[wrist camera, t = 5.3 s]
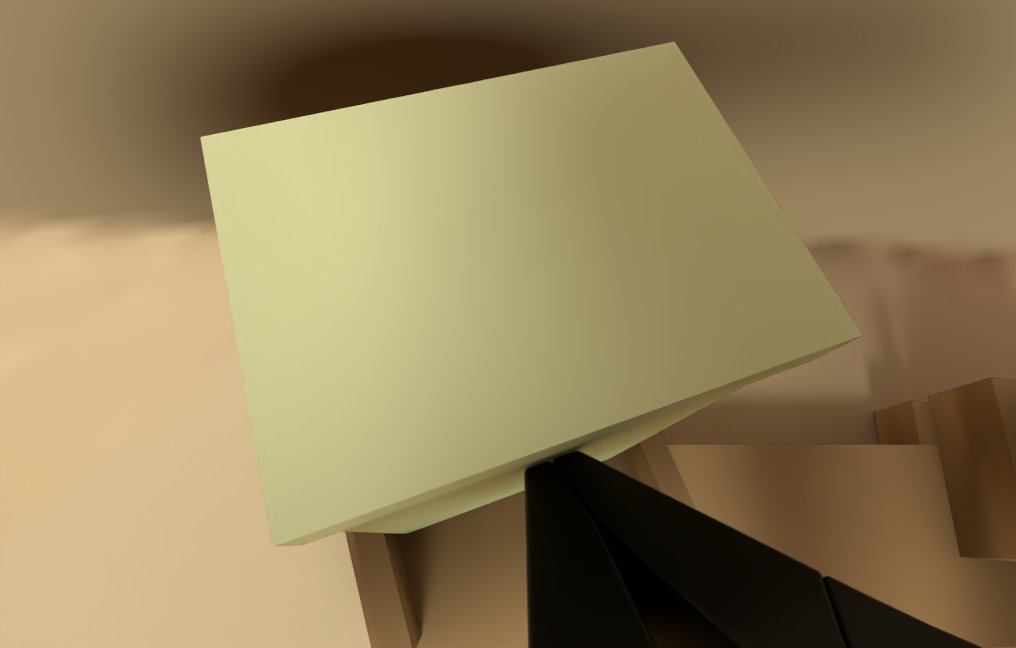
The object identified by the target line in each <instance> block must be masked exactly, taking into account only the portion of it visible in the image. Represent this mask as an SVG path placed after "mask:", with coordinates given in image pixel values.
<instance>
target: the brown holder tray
mask: <svg viewBox="0 0 1016 648" xmlns="http://www.w3.org/2000/svg"><path fill="white" fill-rule="evenodd" d="M928 398H929V403H926V402H919V401H912V400H911V401H908V402H905V403H902V404H898V405H895V406H892V407H888V408H885V409H882V410H879V411H875V418H876V424H877V430H878V437H879V443H880V445H667V444H666V442H665V440H664V438H663V436H662V434H661V431H660V432H658V433H656V434H654V435H652V436H650V437H649V438H647V439H645V440H643V441H641V442H639V443H637V444H636V445H634V446H632V447H630V448H628V449H626V450H624V451H623V452H621V453H619V454H617V455H615V456H613V457H612V458H610V459H607V460H604V461H602V462H603V463H605V464H607V465H609V466H611V467H613V468H615V469H617V470H619V471H621V472H623V473H625V474H627V475H629V476H631V477H633V478H635V479H637V480H639V481H641V482H643V483H645V484H647V485H649V486H651V487H653V488H655V489H657V490H659V491H661V492H663V493H665V494H667V495H669V496H671V497H673V498H675V499H677V500H679V501H681V502H683V503H685V504H687V505H689V506H691V507H693V508H695V509H697V510H699V511H701V512H703V513H705V514H707V515H709V516H711V517H713V518H715V519H717V520H719V521H721V522H723V523H725V524H727V525H729V526H731V527H733V528H735V529H737V530H739V531H741V532H743V533H745V534H747V535H749V536H751V537H753V538H754V539H756V540H758V541H760V542H762V543H764V544H766V545H768V546H770V547H772V548H774V549H776V550H778V551H780V552H782V553H784V554H786V555H788V556H790V557H792V558H794V559H796V560H798V561H800V562H802V563H804V564H806V565H808V566H810V567H812V568H814V569H816V570H818V571H820V573H821V574H822V576H823V577H824V576H826V575H828V576H831V577H833V578H835V579H837V580H839V581H841V582H843V583H845V584H847V585H849V586H851V587H853V588H855V589H857V590H859V591H861V592H863V593H865V594H867V595H869V596H871V597H873V598H875V599H877V600H879V601H881V602H884V603H886V604H888V605H890V606H892V607H894V608H896V609H898V610H900V611H902V612H904V613H907V614H909V615H911V616H913V617H915V618H917V619H919V620H921V621H923V622H925V623H928V624H930V625H932V626H934V627H937V628H939V629H941V630H944V631H946V632H948V633H950V634H953V635H955V636H957V637H960V638H962V639H964V640H967V641H969V642H971V643H973V644H976V645H978V646H980V647H983V648H1016V387H1015V384H1014V381H1012V380H1006V379H999V378H992V377H991V378H988V379H985V380H981V381H978V382H975V383H971V384H968V385H965V386H961V387H958V388H955V389H952V390H948V391H945V392H942V393H938V394H935V395H932V396H928ZM345 533H346V537H347V542H348V546H349V551H350V555H351V560H352V564H353V568H354V573H355V577H356V582H357V586H358V591H359V595H360V600H361V604H362V608H363V613H364V617H365V622H366V626H367V631H368V635H369V640H370V644H371V648H528V629H527V583H526V537H525V491H521V492H518V493H516V494H513V495H510V496H508V497H505V498H502V499H500V500H497V501H494V502H491V503H489V504H486V505H483V506H481V507H478V508H475V509H473V510H470V511H467V512H465V513H462V514H459V515H457V516H454V517H451V518H448V519H446V520H443V521H440V522H438V523H435V524H432V525H430V526H427V527H424V528H422V529H419V530H416V531H414V532H411V533H408V534H398V533H372V532H346V531H345Z"/></svg>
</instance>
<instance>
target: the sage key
mask: <svg viewBox="0 0 1016 648" xmlns="http://www.w3.org/2000/svg"><path fill="white" fill-rule="evenodd" d="M201 144H202V149H203V154H204V160H205V166H206V172H207V177H208V183H209V189H210V195H211V200H212V206H213V212H214V217H215V223H216V229H217V234H218V240H219V246H220V251H221V257H222V263H223V269H224V274H225V280H226V286H227V291H228V297H229V303H230V308H231V314H232V320H233V325H234V331H235V337H236V342H237V348H238V354H239V359H240V365H241V371H242V377H243V382H244V388H245V394H246V399H247V405H248V411H249V416H250V422H251V428H252V433H253V439H254V445H255V450H256V456H257V462H258V467H259V473H260V479H261V485H262V490H263V496H264V502H265V507H266V513H267V519H268V524H269V530H270V536H271V541H272V547H279V546H297V545H305V544H307V543H310V542H313V541H316V540H319V539H321V538H324V537H327V536H330V535H332V534H335V533H338V532H341V531H346V532H372V533H398V534H408V533H411V532H414V531H416V530H419V529H422V528H424V527H427V526H430V525H432V524H435V523H438V522H440V521H443V520H446V519H448V518H451V517H454V516H457V515H459V514H462V513H465V512H467V511H470V510H473V509H475V508H478V507H481V506H483V505H486V504H489V503H491V502H494V501H497V500H500V499H502V498H505V497H508V496H510V495H513V494H516V493H518V492H521V491H524V472H525V470H526V469H528V468H530V467H533V466H536V465H538V464H541V463H544V462H547V461H549V462H553V460H554V459H555V458H558V457H560V456H563V455H566V454H569V453H571V452H574V451H581V452H583V453H585V454H587V455H589V456H591V457H593V458H595V459H597V460H599V461H601V462H602V461H604V460H607V459H610V458H612V457H613V456H615V455H617V454H619V453H621V452H623V451H624V450H626V449H628V448H630V447H632V446H634V445H636V444H637V443H639V442H641V441H643V440H645V439H647V438H649V437H650V436H652V435H654V434H656V433H658V432H660V431H661V430H663V429H665V428H667V427H669V426H671V425H673V424H674V423H676V422H678V421H680V420H682V419H684V418H686V417H687V416H689V415H691V414H693V413H695V412H697V411H698V410H700V409H702V408H704V407H706V406H708V405H710V404H711V403H713V402H715V401H717V400H719V399H721V398H723V397H724V396H726V395H728V394H730V393H732V392H734V391H736V390H737V389H739V388H741V387H743V386H745V385H747V384H749V383H752V382H755V381H758V380H760V379H763V378H766V377H769V376H771V375H774V374H777V373H780V372H782V371H785V370H788V369H791V368H793V367H796V366H799V365H802V364H804V363H807V362H810V361H813V360H815V359H817V358H819V357H821V356H823V355H825V354H827V353H829V352H831V351H833V350H835V349H836V348H838V347H840V346H842V345H844V344H846V343H848V342H850V341H852V340H854V339H856V338H858V337H860V336H862V335H863V334H862V332H861V331H860V329H859V328H858V326H857V325H856V323H855V321H854V320H853V318H852V317H851V315H850V314H849V312H848V311H847V309H846V307H845V306H844V304H843V303H842V301H841V300H840V298H839V297H838V295H837V294H836V292H835V290H834V289H833V287H832V286H831V284H830V283H829V281H828V280H827V278H826V276H825V275H824V273H823V272H822V270H821V269H820V267H819V266H818V264H817V262H816V261H815V259H814V258H813V256H812V255H811V253H810V252H809V250H808V248H807V247H806V245H805V244H804V242H803V241H802V239H801V238H800V236H799V234H798V233H797V231H796V230H795V228H794V227H793V225H792V224H791V222H790V220H789V219H788V217H787V216H786V214H785V213H784V211H783V210H782V208H781V206H780V205H779V203H778V202H777V200H776V199H775V197H774V196H773V194H772V192H771V191H770V189H769V188H768V186H767V185H766V183H765V182H764V180H763V179H762V177H761V175H760V174H759V172H758V171H757V169H756V168H755V166H754V165H753V163H752V161H751V160H750V159H749V157H748V155H747V154H746V152H745V151H744V149H743V147H742V146H741V144H740V143H739V141H738V140H737V138H736V137H735V135H734V133H733V132H732V130H731V129H730V127H729V126H728V124H727V123H726V121H725V120H724V118H723V116H722V115H721V114H720V112H719V110H718V109H717V107H716V105H715V104H714V102H713V101H712V99H711V98H710V96H709V95H708V93H707V92H706V90H705V89H704V87H703V85H702V84H701V82H700V81H699V79H698V78H697V76H696V74H695V73H694V71H693V70H692V68H691V67H690V65H689V63H688V62H687V60H686V59H685V57H684V56H683V54H682V53H681V51H680V49H679V48H678V46H677V45H676V43H675V42H671V43H666V44H661V45H656V46H651V47H646V48H641V49H636V50H631V51H626V52H621V53H616V54H611V55H606V56H601V57H596V58H591V59H586V60H581V61H576V62H572V63H566V64H562V65H556V66H551V67H547V68H542V69H537V70H532V71H527V72H522V73H517V74H512V75H507V76H502V77H497V78H492V79H487V80H482V81H477V82H472V83H467V84H462V85H457V86H453V87H447V88H443V89H437V90H432V91H428V92H423V93H418V94H413V95H408V96H403V97H398V98H393V99H388V100H383V101H378V102H373V103H368V104H363V105H358V106H353V107H348V108H343V109H338V110H333V111H329V112H324V113H318V114H313V115H308V116H304V117H299V118H294V119H288V120H284V121H279V122H274V123H269V124H264V125H259V126H254V127H249V128H244V129H239V130H234V131H229V132H224V133H219V134H214V135H209V136H204V137H201Z"/></svg>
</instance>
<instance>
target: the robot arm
mask: <svg viewBox="0 0 1016 648" xmlns="http://www.w3.org/2000/svg"><path fill="white" fill-rule="evenodd" d="M524 491H525V537H526V583H527V629H528V648H983V647H980V646H978V645H976V644H973V643H971V642H969V641H967V640H964V639H962V638H960V637H957V636H955V635H953V634H950V633H948V632H946V631H944V630H941V629H939V628H937V627H934V626H932V625H930V624H928V623H925V622H923V621H921V620H919V619H917V618H915V617H913V616H911V615H909V614H907V613H904V612H902V611H900V610H898V609H896V608H894V607H892V606H890V605H888V604H886V603H884V602H881V601H879V600H877V599H875V598H873V597H871V596H869V595H867V594H865V593H863V592H861V591H859V590H857V589H855V588H853V587H851V586H849V585H847V584H845V583H843V582H841V581H839V580H837V579H835V578H833V577H831V576H828V575H826V576H824V577H823V576H822V574H821V573H820V571H818V570H816V569H814V568H812V567H810V566H808V565H806V564H804V563H802V562H800V561H798V560H796V559H794V558H792V557H790V556H788V555H786V554H784V553H782V552H780V551H778V550H776V549H774V548H772V547H770V546H768V545H766V544H764V543H762V542H760V541H758V540H756V539H754V538H753V537H751V536H749V535H747V534H745V533H743V532H741V531H739V530H737V529H735V528H733V527H731V526H729V525H727V524H725V523H723V522H721V521H719V520H717V519H715V518H713V517H711V516H709V515H707V514H705V513H703V512H701V511H699V510H697V509H695V508H693V507H691V506H689V505H687V504H685V503H683V502H681V501H679V500H677V499H675V498H673V497H671V496H669V495H667V494H665V493H663V492H661V491H659V490H657V489H655V488H653V487H651V486H649V485H647V484H645V483H643V482H641V481H639V480H637V479H635V478H633V477H631V476H629V475H627V474H625V473H623V472H621V471H619V470H617V469H615V468H613V467H611V466H609V465H607V464H605V463H603V462H601V461H599V460H597V459H595V458H593V457H591V456H589V455H587V454H585V453H583V452H581V451H574V452H571V453H569V454H566V455H563V456H560V457H558V458H555V459H554V460H553V462H549V461H547V462H544V463H541V464H538V465H536V466H533V467H530V468H528V469H526V470H525V472H524Z"/></svg>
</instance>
